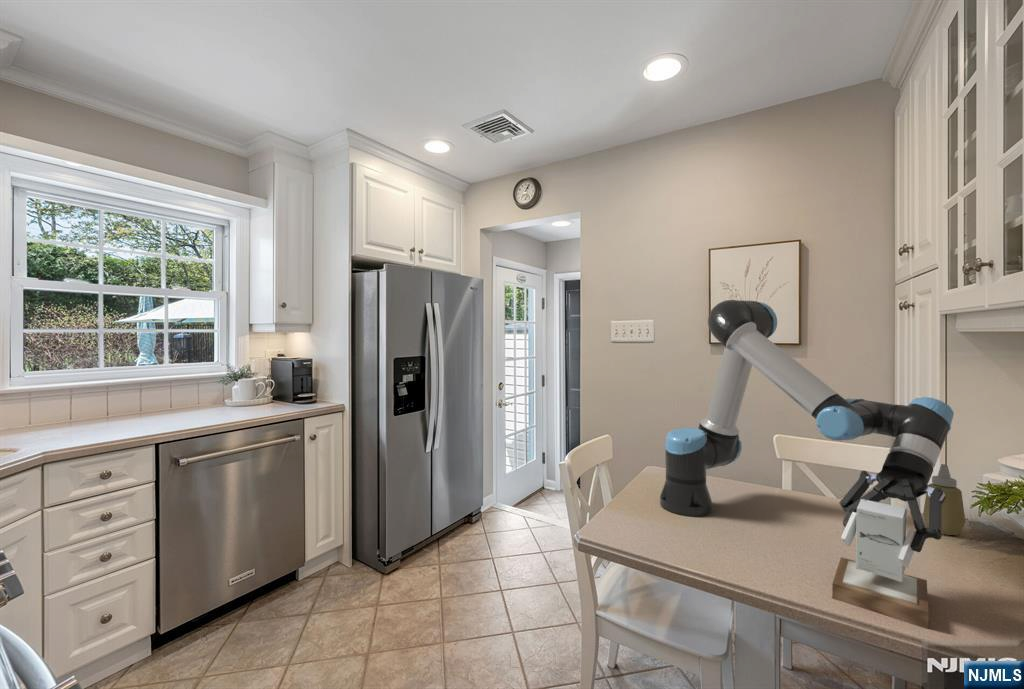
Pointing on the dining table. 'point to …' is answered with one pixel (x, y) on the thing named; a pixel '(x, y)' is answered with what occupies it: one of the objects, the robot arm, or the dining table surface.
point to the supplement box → (880, 538)
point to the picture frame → (882, 593)
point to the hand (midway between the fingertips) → (872, 552)
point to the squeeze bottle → (947, 503)
